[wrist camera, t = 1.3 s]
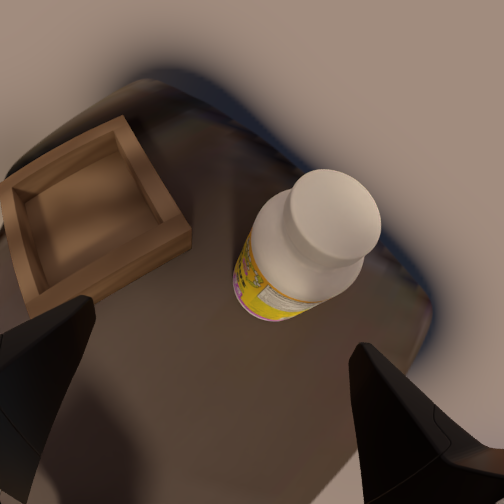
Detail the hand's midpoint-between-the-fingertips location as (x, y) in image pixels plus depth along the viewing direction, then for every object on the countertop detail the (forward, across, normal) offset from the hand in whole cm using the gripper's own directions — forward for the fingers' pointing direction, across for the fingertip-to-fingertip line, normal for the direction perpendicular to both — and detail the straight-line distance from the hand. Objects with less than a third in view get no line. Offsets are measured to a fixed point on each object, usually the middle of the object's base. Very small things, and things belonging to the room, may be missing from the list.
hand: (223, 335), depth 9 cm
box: (+15, +14, +4) cm, 21 cm away
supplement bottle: (+14, -3, +7) cm, 16 cm away
